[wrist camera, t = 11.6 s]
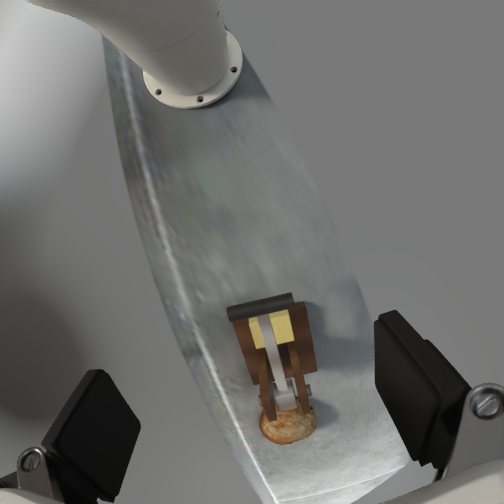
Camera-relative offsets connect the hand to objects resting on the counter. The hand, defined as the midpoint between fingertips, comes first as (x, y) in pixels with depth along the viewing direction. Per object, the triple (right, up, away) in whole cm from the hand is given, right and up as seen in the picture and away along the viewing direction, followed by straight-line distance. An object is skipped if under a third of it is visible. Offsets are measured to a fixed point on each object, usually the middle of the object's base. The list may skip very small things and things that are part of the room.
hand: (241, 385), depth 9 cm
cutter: (+4, -9, +32) cm, 33 cm away
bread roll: (+6, -24, +36) cm, 44 cm away
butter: (+3, -5, +29) cm, 30 cm away
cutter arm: (+3, -6, +20) cm, 22 cm away
